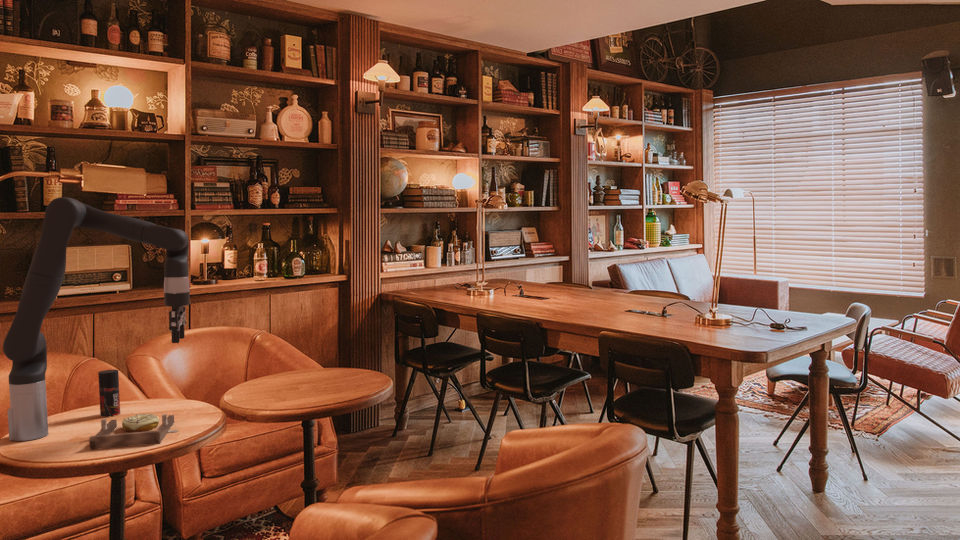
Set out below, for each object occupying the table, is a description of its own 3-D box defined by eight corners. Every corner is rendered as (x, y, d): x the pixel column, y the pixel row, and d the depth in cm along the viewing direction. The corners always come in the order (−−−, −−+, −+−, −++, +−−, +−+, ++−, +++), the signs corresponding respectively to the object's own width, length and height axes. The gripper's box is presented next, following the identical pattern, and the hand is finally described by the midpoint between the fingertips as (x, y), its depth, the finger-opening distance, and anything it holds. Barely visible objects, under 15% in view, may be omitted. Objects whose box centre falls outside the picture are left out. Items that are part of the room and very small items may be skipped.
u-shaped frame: (78, 450, 188) (77, 431, 188) (101, 428, 210) (100, 411, 209) (171, 442, 195) (170, 424, 194) (184, 421, 216) (183, 405, 216)
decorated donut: (133, 435, 203) (132, 423, 202) (116, 429, 209) (115, 418, 208) (165, 426, 211) (165, 415, 211) (148, 421, 217) (147, 410, 217)
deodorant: (107, 412, 229) (105, 369, 228) (123, 412, 228) (121, 369, 227) (96, 417, 223) (94, 373, 222) (113, 417, 222) (111, 373, 222)
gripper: (168, 289, 217) (170, 337, 218) (159, 293, 204) (160, 345, 205) (193, 288, 219) (194, 336, 220) (185, 292, 206) (186, 343, 207)
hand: (178, 340), depth 212 cm, fingers open, 8 cm apart
